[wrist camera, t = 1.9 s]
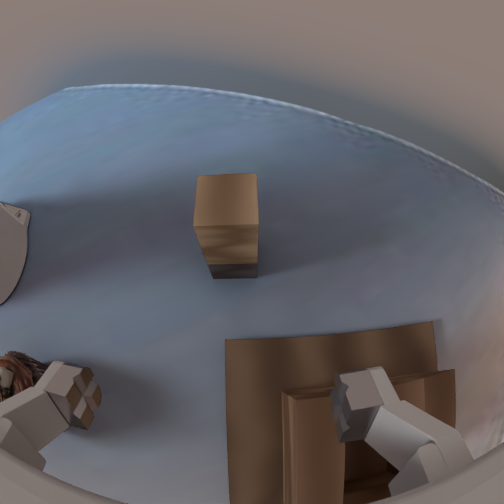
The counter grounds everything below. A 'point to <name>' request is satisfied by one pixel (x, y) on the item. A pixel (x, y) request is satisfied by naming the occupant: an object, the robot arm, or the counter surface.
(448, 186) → the counter surface
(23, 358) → the cupcake
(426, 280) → the counter surface
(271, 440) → the post block
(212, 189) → the rail end
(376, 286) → the counter surface
